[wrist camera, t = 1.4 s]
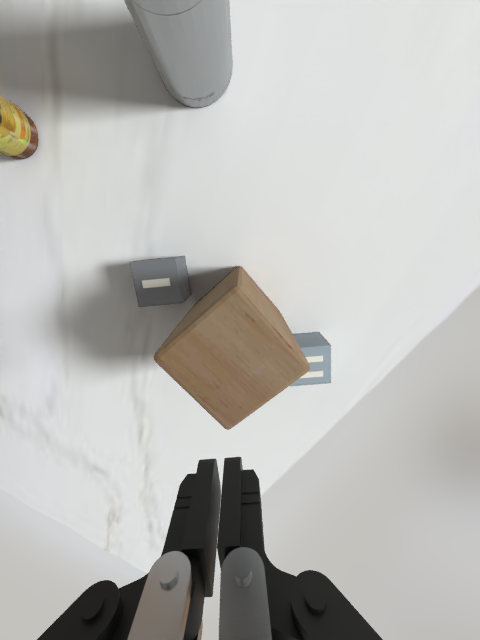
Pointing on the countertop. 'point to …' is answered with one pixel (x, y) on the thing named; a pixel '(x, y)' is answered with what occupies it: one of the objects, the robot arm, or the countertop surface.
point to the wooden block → (233, 350)
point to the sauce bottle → (16, 131)
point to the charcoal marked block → (160, 281)
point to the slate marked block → (314, 358)
